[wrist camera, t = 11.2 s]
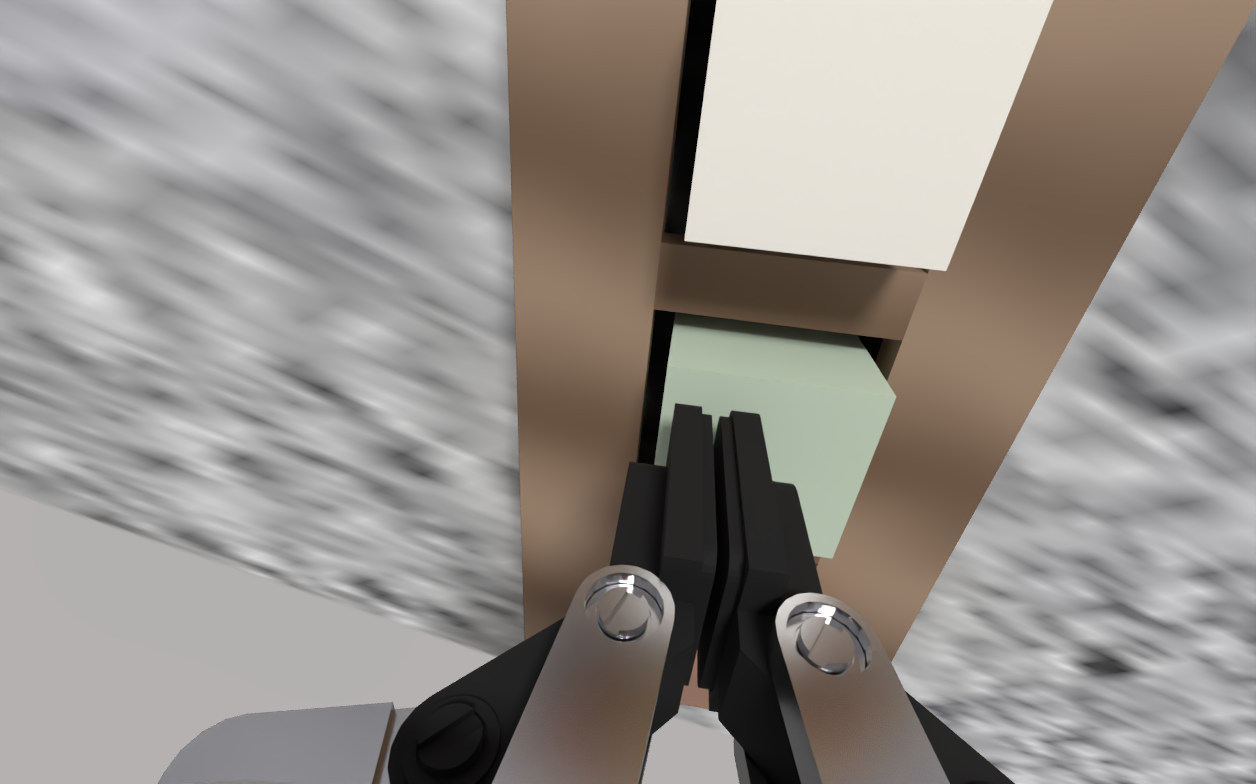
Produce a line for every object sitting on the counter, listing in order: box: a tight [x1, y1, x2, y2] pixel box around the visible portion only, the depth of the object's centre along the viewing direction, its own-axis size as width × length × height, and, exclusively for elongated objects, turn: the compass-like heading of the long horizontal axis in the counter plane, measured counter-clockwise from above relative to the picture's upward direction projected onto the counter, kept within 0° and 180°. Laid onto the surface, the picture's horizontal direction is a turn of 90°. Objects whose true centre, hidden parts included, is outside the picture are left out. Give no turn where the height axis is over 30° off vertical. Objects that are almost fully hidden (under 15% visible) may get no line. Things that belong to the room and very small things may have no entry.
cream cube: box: [684, 0, 1053, 271], centre depth 10 cm, size 4×4×4 cm
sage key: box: [654, 312, 896, 559], centre depth 13 cm, size 4×4×4 cm
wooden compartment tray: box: [506, 0, 1256, 662], centre depth 15 cm, size 24×12×4 cm, turn 175°
